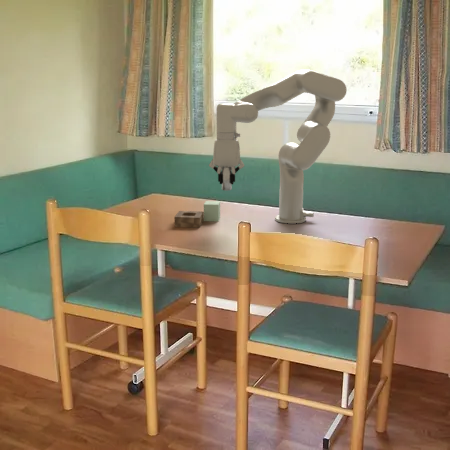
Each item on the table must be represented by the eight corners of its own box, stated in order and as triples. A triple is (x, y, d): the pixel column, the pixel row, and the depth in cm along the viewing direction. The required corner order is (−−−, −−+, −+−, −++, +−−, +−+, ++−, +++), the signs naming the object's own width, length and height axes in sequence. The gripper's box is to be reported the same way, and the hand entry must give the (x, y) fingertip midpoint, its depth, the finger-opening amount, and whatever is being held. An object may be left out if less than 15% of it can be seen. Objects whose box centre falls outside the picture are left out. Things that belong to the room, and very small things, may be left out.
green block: (220, 217, 264) (220, 201, 262) (218, 221, 258) (218, 204, 256) (205, 217, 264) (205, 201, 262) (203, 221, 258) (203, 204, 257)
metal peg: (232, 188, 249) (232, 165, 247) (231, 190, 246) (231, 167, 243) (222, 188, 250) (222, 165, 248) (221, 190, 246) (221, 167, 244)
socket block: (203, 221, 258) (203, 211, 257) (199, 227, 248) (199, 217, 247) (179, 220, 259) (179, 210, 258) (174, 226, 249) (174, 216, 248)
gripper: (249, 135, 245) (248, 182, 250) (206, 135, 247) (206, 181, 252) (247, 137, 238) (247, 186, 243) (203, 137, 240) (204, 185, 245)
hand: (226, 183), depth 247 cm, fingers closed on metal peg, 3 cm apart
